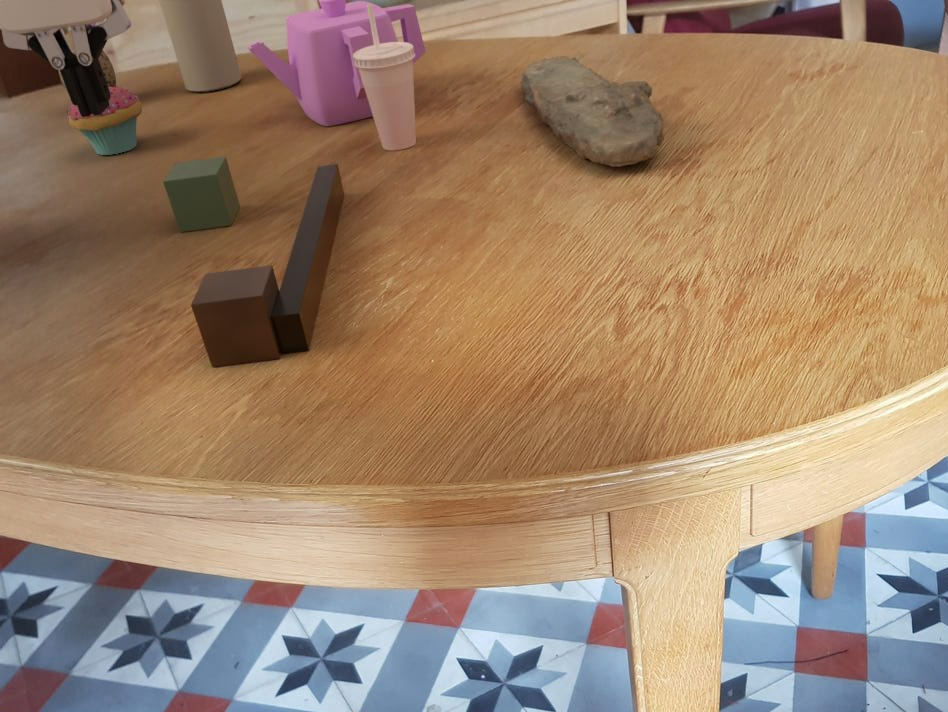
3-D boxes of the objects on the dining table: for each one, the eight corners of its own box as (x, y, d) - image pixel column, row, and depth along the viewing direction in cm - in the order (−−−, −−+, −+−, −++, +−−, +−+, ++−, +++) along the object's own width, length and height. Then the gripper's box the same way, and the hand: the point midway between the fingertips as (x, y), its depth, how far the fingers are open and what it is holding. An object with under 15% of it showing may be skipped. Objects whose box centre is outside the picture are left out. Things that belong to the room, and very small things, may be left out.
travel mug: (190, 97, 130) (146, -50, 120) (183, 85, 137) (140, -56, 126) (246, 84, 132) (208, -62, 121) (237, 73, 138) (199, -67, 128)
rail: (281, 354, 68) (270, 316, 66) (324, 196, 93) (317, 166, 91) (309, 350, 68) (299, 313, 66) (344, 194, 93) (337, 163, 91)
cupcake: (71, 154, 116) (31, 49, 108) (135, 132, 120) (100, 30, 112) (100, 166, 110) (60, 57, 103) (166, 143, 114) (131, 37, 107)
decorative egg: (83, 102, 136) (55, 27, 130) (131, 96, 135) (105, 20, 129) (65, 117, 130) (36, 40, 124) (115, 111, 130) (88, 33, 124)
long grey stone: (585, 85, 116) (507, 104, 115) (580, 39, 113) (499, 59, 112) (691, 157, 87) (588, 183, 87) (688, 98, 84) (580, 124, 84)
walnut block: (211, 367, 68) (190, 304, 65) (224, 334, 72) (204, 273, 69) (280, 359, 68) (261, 295, 65) (289, 325, 72) (272, 264, 69)
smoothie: (363, 143, 105) (336, 5, 96) (418, 130, 106) (396, -7, 98) (379, 159, 100) (352, 15, 91) (436, 145, 101) (415, 2, 93)
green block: (179, 232, 90) (162, 181, 87) (190, 212, 94) (174, 163, 91) (231, 226, 90) (215, 174, 87) (240, 206, 94) (225, 156, 91)
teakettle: (382, 128, 108) (361, 10, 101) (259, 128, 114) (230, 17, 107) (443, 83, 120) (428, -25, 113) (328, 85, 126) (307, -17, 119)
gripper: (115, -152, 75) (188, 88, 86) (-65, -124, 76) (30, 110, 87) (85, -145, 69) (167, 112, 80) (-110, -114, 70) (-2, 136, 81)
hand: (96, 111), depth 84 cm, fingers closed
